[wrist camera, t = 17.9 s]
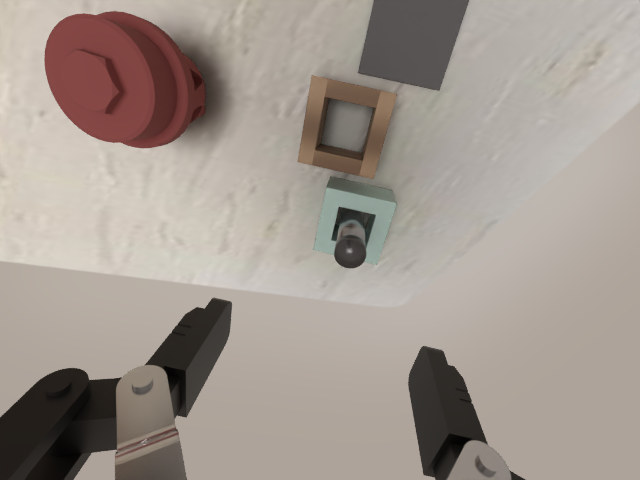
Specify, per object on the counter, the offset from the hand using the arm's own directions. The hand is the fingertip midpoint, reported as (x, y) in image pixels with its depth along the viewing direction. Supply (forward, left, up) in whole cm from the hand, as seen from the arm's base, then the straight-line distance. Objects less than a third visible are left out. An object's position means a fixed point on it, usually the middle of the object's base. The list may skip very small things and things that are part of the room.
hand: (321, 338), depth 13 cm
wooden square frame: (-7, -1, -24) cm, 25 cm away
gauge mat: (-16, +3, -24) cm, 29 cm away
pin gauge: (+2, +1, -24) cm, 24 cm away
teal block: (+2, +2, -24) cm, 24 cm away
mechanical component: (-7, -19, -25) cm, 32 cm away
